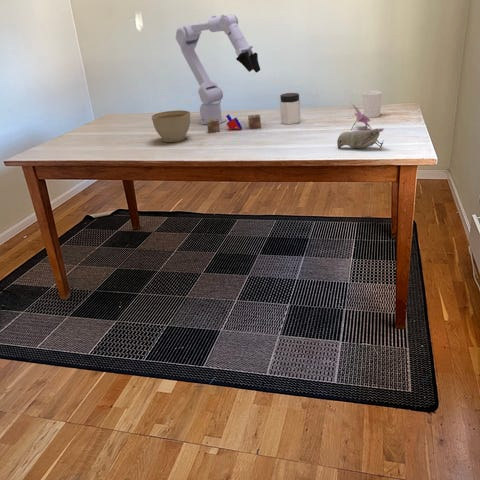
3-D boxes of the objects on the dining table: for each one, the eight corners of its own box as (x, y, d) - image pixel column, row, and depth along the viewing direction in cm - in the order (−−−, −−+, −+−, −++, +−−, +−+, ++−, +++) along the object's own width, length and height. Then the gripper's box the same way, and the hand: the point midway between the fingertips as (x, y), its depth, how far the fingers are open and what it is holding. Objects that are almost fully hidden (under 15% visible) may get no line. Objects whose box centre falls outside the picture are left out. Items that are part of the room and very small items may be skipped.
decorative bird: (338, 146, 182) (338, 126, 178) (384, 147, 176) (385, 126, 173) (336, 150, 177) (335, 130, 174) (382, 151, 171) (383, 130, 168)
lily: (368, 136, 193) (379, 112, 191) (340, 124, 195) (350, 101, 193) (367, 138, 205) (377, 115, 203) (341, 127, 207) (350, 104, 204)
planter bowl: (187, 144, 203) (183, 117, 198) (150, 145, 206) (145, 119, 202) (197, 134, 217) (194, 109, 212) (163, 135, 220) (159, 110, 216)
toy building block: (234, 132, 221) (225, 116, 219) (242, 127, 219) (232, 111, 217) (232, 134, 218) (222, 118, 216) (240, 129, 216) (230, 113, 214)
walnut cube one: (249, 129, 216) (248, 117, 214) (249, 127, 221) (248, 115, 218) (261, 128, 216) (260, 116, 214) (260, 125, 221) (259, 114, 218)
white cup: (358, 116, 220) (359, 93, 216) (373, 113, 223) (373, 90, 218) (370, 119, 214) (370, 95, 209) (384, 115, 216) (385, 92, 212)
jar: (304, 121, 220) (303, 93, 215) (291, 125, 216) (290, 97, 211) (290, 119, 227) (289, 92, 222) (277, 122, 222) (275, 95, 217)
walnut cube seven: (208, 133, 216) (206, 121, 214) (208, 130, 221) (207, 119, 219) (219, 132, 216) (218, 120, 214) (219, 129, 221) (218, 118, 219)
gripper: (239, 34, 198) (255, 64, 198) (253, 37, 211) (268, 66, 211) (225, 44, 202) (242, 74, 202) (240, 47, 214) (255, 75, 215)
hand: (254, 70), depth 207 cm, fingers open, 7 cm apart
